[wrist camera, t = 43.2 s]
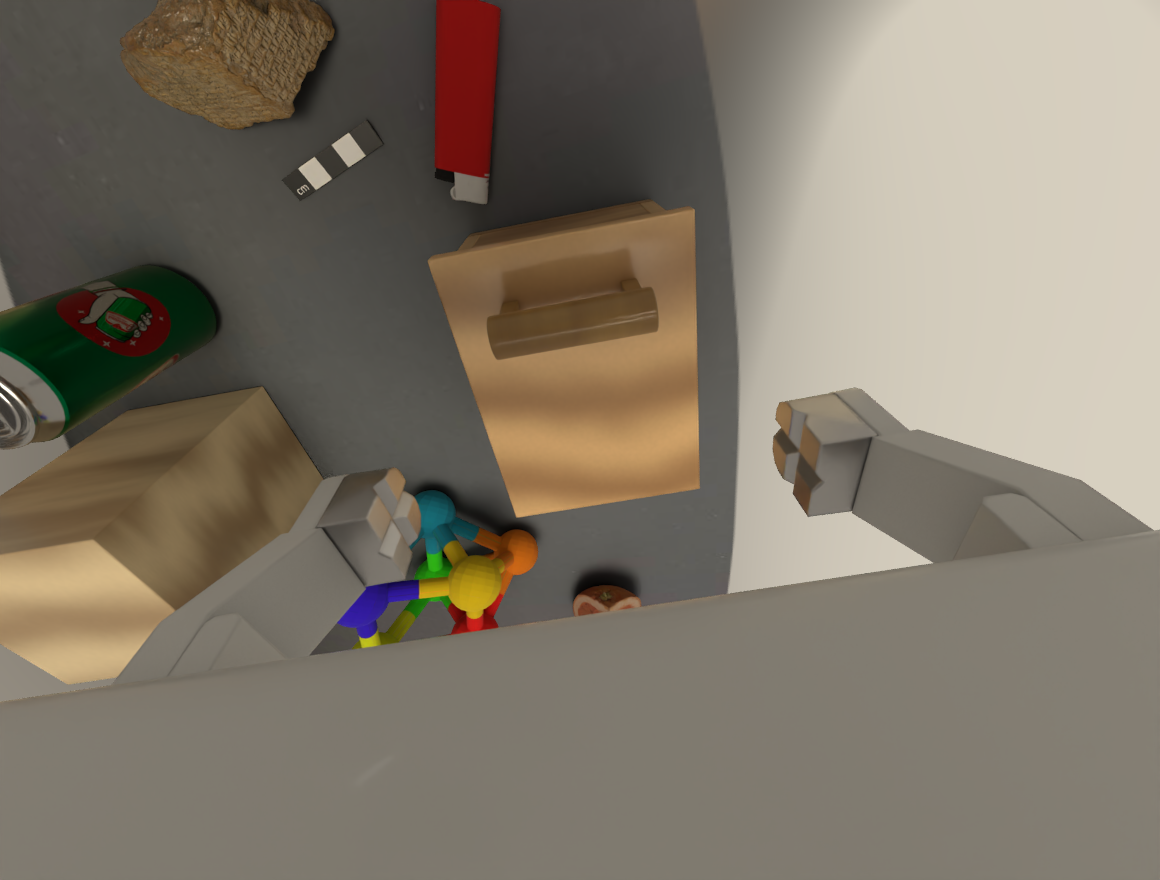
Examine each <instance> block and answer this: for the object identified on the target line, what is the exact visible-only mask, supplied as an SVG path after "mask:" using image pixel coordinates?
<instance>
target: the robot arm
mask: <svg viewBox="0 0 1160 880" xmlns="http://www.w3.org/2000/svg"><path fill="white" fill-rule="evenodd" d="M776 421H777V422H778V424H779V425H780V426H781V429H780V430H779V431H778V432H777V433H776V435H775V436H774V438H773V453H774V460H775V464H776V466H777V469H778V471H779V473H780V474H781V476H782V478H783V479H784V480H786V481H788V482H790V483H792V484H794V490H793V495H794V496H795V497H796V499H797V501H798V502H799V504H800V505H801V507H802V508H803V510H804V511H805V513H806V514H807V516H808V517H810V516H817V515H825V514H833V513H840V512H848V511H852V513H853V514H855V515H856V516H858V517H859V518H861V519H863V520H864V521H866V522H868V523H869V524H871V525H872V526H874V527H876V528H877V529H879V530H881V531H882V532H884V533H886V534H888V535H889V536H891V537H892V538H894V539H895V540H897V541H899V542H900V543H902V544H904V545H905V546H907V547H909V548H910V549H912V550H913V551H915V552H917V553H918V554H920V555H922V556H923V557H925V558H927V559H928V560H930V561H932V562H933V564H926V565H919V566H912V567H906V568H899V569H892V570H886V571H880V572H873V573H865V574H859V575H852V576H845V577H839V578H832V579H825V580H819V581H812V582H805V583H798V584H791V585H784V586H778V587H771V588H764V589H757V590H751V591H744V592H738V593H730V594H723V595H717V596H710V597H703V598H696V599H690V600H683V601H676V602H669V603H662V604H656V605H649V606H642V607H636V608H629V609H622V610H615V611H609V612H602V613H595V614H588V615H582V616H575V617H568V618H561V619H555V620H548V621H541V622H535V623H528V624H521V625H514V626H508V627H501V628H494V629H487V630H481V631H474V632H467V633H460V634H454V635H447V636H440V637H434V638H427V639H420V640H413V641H407V642H400V643H393V644H386V645H380V646H373V647H366V648H359V649H353V650H346V651H339V652H332V653H326V654H319V655H312V656H309V655H310V653H311V652H312V651H313V650H314V649H315V648H316V646H317V645H318V644H319V643H320V642H321V641H322V640H323V638H324V637H325V636H326V635H327V634H328V633H329V631H330V630H331V629H332V628H333V627H334V626H335V624H336V623H337V622H338V621H339V620H340V619H341V617H342V616H343V615H344V614H345V613H346V612H347V610H348V609H349V608H350V607H351V606H352V605H353V604H354V602H355V601H356V600H357V599H358V598H359V597H360V595H361V594H362V593H363V592H364V591H365V590H366V587H367V586H373V585H378V584H384V583H389V582H394V581H400V580H405V578H406V575H407V571H408V568H409V565H410V562H411V559H412V556H413V553H412V552H411V550H410V548H409V546H410V545H411V544H412V543H413V542H414V541H415V540H416V539H417V538H418V536H419V533H420V529H421V513H420V509H419V506H418V503H417V501H416V499H415V497H414V496H412V495H411V494H409V493H407V492H406V491H404V490H403V489H404V486H405V483H406V481H405V479H404V477H403V475H402V474H401V472H400V470H398V469H396V468H387V469H380V470H373V471H367V472H360V473H353V474H349V475H341V476H335V477H329V478H326V479H324V480H322V481H321V483H320V484H319V486H318V487H317V489H316V490H315V492H314V494H313V495H312V497H311V498H310V500H309V501H308V503H307V505H306V506H305V508H304V509H303V511H302V512H301V514H300V516H299V517H298V519H297V520H296V522H295V523H294V525H293V527H292V528H291V530H290V531H289V533H285V534H281V535H279V536H278V537H277V538H275V539H274V540H272V541H271V542H270V543H268V544H267V545H266V546H264V547H263V548H261V549H260V550H259V551H257V552H256V553H255V554H253V555H252V556H250V557H249V558H248V559H246V560H245V561H244V562H242V563H241V564H239V565H238V566H237V567H235V568H234V569H233V570H231V571H230V572H228V573H227V574H226V575H224V576H223V577H222V578H220V579H219V580H217V581H216V582H215V583H213V584H212V585H211V586H209V587H208V588H206V589H205V590H204V591H202V592H201V593H200V594H198V595H197V596H195V597H194V598H193V599H191V600H190V601H189V602H187V603H186V604H184V605H183V606H182V607H180V608H179V609H178V610H176V611H175V612H173V613H172V614H171V615H169V616H168V617H167V618H165V619H164V620H162V621H161V622H160V623H159V624H158V625H157V627H156V628H155V629H154V630H153V632H152V633H151V634H150V636H149V637H148V638H147V640H146V641H145V642H144V643H143V645H142V646H141V647H140V649H139V650H138V651H137V652H136V654H135V655H134V656H133V658H132V659H131V660H130V661H129V663H128V664H127V665H126V667H125V668H124V669H123V671H122V672H121V673H120V674H119V676H118V677H117V678H116V680H115V681H114V682H113V684H112V685H111V686H103V687H97V688H91V689H83V690H76V691H70V692H63V693H57V694H50V695H43V696H36V697H29V698H23V699H16V700H9V701H2V702H0V880H1160V530H1156V531H1154V530H1153V529H1151V528H1149V527H1148V526H1147V525H1145V524H1144V523H1142V522H1141V521H1139V520H1138V519H1137V518H1135V517H1134V516H1132V515H1131V514H1129V513H1128V512H1126V511H1125V510H1123V509H1122V508H1121V507H1119V506H1118V505H1116V504H1115V503H1113V502H1112V501H1110V500H1108V499H1107V498H1106V497H1105V496H1103V495H1101V494H1100V493H1099V492H1097V491H1096V490H1094V489H1093V488H1091V487H1090V486H1089V485H1087V484H1086V483H1084V482H1083V481H1081V480H1079V479H1075V478H1072V477H1069V476H1066V475H1063V474H1059V473H1056V472H1053V471H1050V470H1046V469H1043V468H1040V467H1036V466H1034V465H1030V464H1027V463H1024V462H1021V461H1018V460H1014V459H1011V458H1008V457H1005V456H1001V455H998V454H995V453H992V452H989V451H985V450H982V449H979V448H976V447H973V446H969V445H966V444H963V443H960V442H957V441H953V440H950V439H947V438H944V437H941V436H937V435H934V434H931V433H927V432H925V431H921V430H912V431H909V430H908V429H907V428H906V427H905V426H903V425H902V424H901V423H900V422H899V421H898V420H896V419H895V418H894V417H893V416H892V415H891V414H890V413H888V412H887V411H886V410H885V409H884V408H883V407H882V406H880V405H879V404H878V403H876V401H875V400H873V399H872V398H871V397H870V396H869V395H868V394H866V393H865V392H864V391H863V390H862V389H858V388H850V389H845V390H841V391H836V392H831V393H829V394H823V395H818V396H812V397H807V398H801V399H796V400H790V401H785V402H780V403H779V405H778V407H777V411H776Z"/></svg>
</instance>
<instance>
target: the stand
mask: <svg viewBox="0 0 1160 880" xmlns="http://www.w3.org/2000/svg"><path fill="white" fill-rule="evenodd" d="M322 480H324V479H323V478H322V476H321V475H320V473H319V472H318V470H317V469H316V467H315V465H314V464H313V462H312V461H311V459H310V458H309V456H308V455H307V453H306V452H305V450H304V449H303V447H302V446H301V444H300V443H299V441H298V440H297V438H296V436H295V435H294V433H293V432H292V430H291V429H290V427H289V426H288V424H287V423H286V421H285V420H284V418H283V417H282V415H281V414H280V412H279V411H278V409H277V407H276V406H275V404H274V403H273V401H272V400H271V398H270V397H269V395H268V394H267V392H266V391H265V389H264V388H263V387H262V386H261V387H256V388H250V389H245V390H239V391H234V392H228V393H223V394H217V395H211V396H206V397H200V398H195V399H189V400H184V401H178V402H173V403H167V404H162V405H156V406H151V407H145V408H139V409H134V410H128V411H126V412H125V413H123V414H122V415H120V416H119V417H117V418H116V419H114V420H113V421H111V422H110V423H108V424H107V425H105V426H104V427H102V428H101V429H99V430H98V431H96V432H95V433H93V434H92V435H90V436H89V437H87V438H86V439H84V440H83V441H81V442H80V443H78V444H77V445H75V446H74V447H73V448H71V449H70V450H68V451H67V452H65V453H64V454H62V455H61V456H59V457H58V458H56V459H55V460H53V461H52V462H50V463H49V464H47V465H46V466H44V467H43V468H41V469H40V470H38V471H37V472H35V473H34V474H32V475H31V476H29V477H28V478H26V479H25V480H23V481H22V482H20V483H19V484H17V485H16V486H14V487H13V488H11V489H10V490H8V491H7V492H5V493H4V494H3V495H1V496H0V644H1V645H3V646H4V647H6V648H8V649H9V650H11V651H13V652H15V653H16V654H18V655H19V656H21V657H23V658H24V659H26V660H28V661H29V662H31V663H33V664H34V665H36V666H38V667H40V668H41V669H43V670H45V671H46V672H48V673H49V674H51V675H53V676H54V677H56V678H58V679H59V680H61V681H63V682H65V683H66V684H75V683H82V682H88V681H95V680H102V679H109V678H115V677H118V676H119V674H120V673H121V672H122V671H123V669H124V668H125V667H126V665H127V664H128V663H129V661H130V660H131V659H132V658H133V656H134V655H135V654H136V652H137V651H138V650H139V649H140V647H141V646H142V645H143V643H144V642H145V641H146V640H147V638H148V637H149V636H150V634H151V633H152V632H153V630H154V629H155V628H156V627H157V625H158V624H159V623H160V622H161V621H162V620H164V619H165V618H167V617H168V616H169V615H171V614H172V613H173V612H175V611H176V610H178V609H179V608H180V607H182V606H183V605H184V604H186V603H187V602H189V601H190V600H191V599H193V598H194V597H195V596H197V595H198V594H200V593H201V592H202V591H204V590H205V589H206V588H208V587H209V586H211V585H212V584H213V583H215V582H216V581H217V580H219V579H220V578H222V577H223V576H224V575H226V574H227V573H228V572H230V571H231V570H233V569H234V568H235V567H237V566H238V565H239V564H241V563H242V562H244V561H245V560H246V559H248V558H249V557H250V556H252V555H253V554H255V553H256V552H257V551H259V550H260V549H261V548H263V547H264V546H266V545H267V544H268V543H270V542H271V541H272V540H274V539H275V538H277V537H278V536H279V535H281V534H285V533H289V531H290V530H291V528H292V527H293V525H294V523H295V522H296V520H297V519H298V517H299V516H300V514H301V512H302V511H303V509H304V508H305V506H306V505H307V503H308V501H309V500H310V498H311V497H312V495H313V494H314V492H315V490H316V489H317V487H318V486H319V484H320V483H321V481H322Z"/></svg>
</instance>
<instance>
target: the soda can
mask: <svg viewBox="0 0 1160 880" xmlns="http://www.w3.org/2000/svg"><path fill="white" fill-rule="evenodd" d="M215 332H216V317H215V314H214V311H213V308H212V306H211V304H210V302H209V301H208V299H207V298H206V296H205V295H204V294H203V293H202V292H201V291H200V290H199V289H198V288H197V287H196V286H195V285H194V284H192V283H191V282H190V281H189V280H187V279H185V278H184V277H182V276H180V275H179V274H177V273H175V272H173V271H170V270H168V269H165V268H162V267H157V266H150V265H142V266H136V267H132V268H129V269H126V270H123V271H120V272H118V273H115V274H112V275H109V276H106V277H103V278H100V279H97V280H94V281H91V282H88V283H85V284H82V285H79V286H76V287H73V288H70V289H67V290H64V291H61V292H58V293H55V294H52V295H49V296H46V297H43V298H40V299H37V300H34V301H31V302H28V303H25V304H22V305H19V306H16V307H13V308H10V309H8V310H4V311H1V312H0V449H15V448H19V447H23V446H25V445H28V444H29V443H31V442H32V443H33V442H45V441H50V440H53V439H55V438H58V437H60V436H61V435H63V434H65V433H66V432H68V431H69V430H71V429H72V428H74V427H76V426H77V425H79V424H80V423H82V422H84V421H85V420H87V419H88V418H90V417H92V416H93V415H95V414H96V413H98V412H99V411H101V410H103V409H104V408H106V407H107V406H109V405H111V404H112V403H114V402H115V401H117V400H119V399H120V398H122V397H123V396H125V395H126V394H128V393H130V392H131V391H133V390H134V389H136V388H138V387H139V386H141V385H142V384H144V383H146V382H147V381H149V380H150V379H152V378H153V377H155V376H157V375H158V374H160V373H161V372H163V371H165V370H166V369H168V368H169V367H171V366H173V365H174V364H176V363H177V362H179V361H180V360H182V359H184V358H185V357H187V356H188V355H190V354H192V353H193V352H195V351H196V350H198V349H200V348H201V347H203V346H204V345H206V344H207V343H209V342H210V341H211V340H212V338H213V337H214V335H215Z"/></svg>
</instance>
